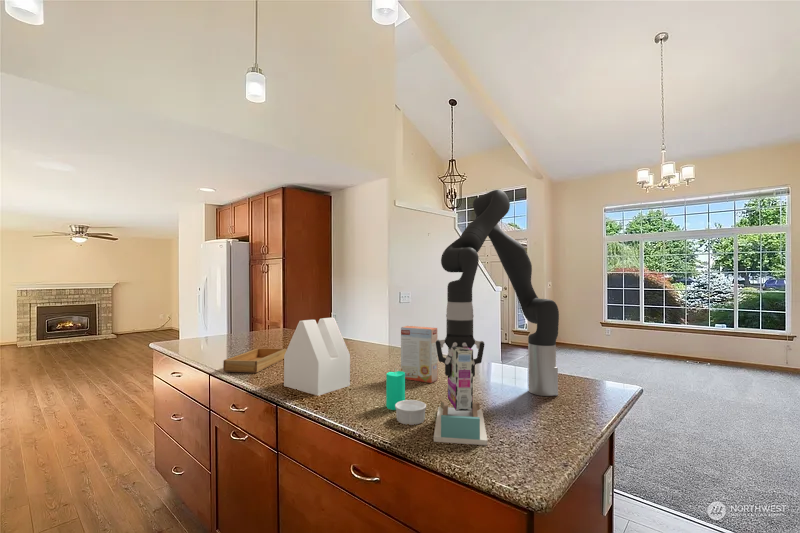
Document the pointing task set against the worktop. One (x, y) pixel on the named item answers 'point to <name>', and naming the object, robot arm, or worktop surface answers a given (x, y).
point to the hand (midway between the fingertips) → (459, 377)
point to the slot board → (460, 425)
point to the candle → (395, 388)
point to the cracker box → (419, 353)
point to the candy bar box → (461, 379)
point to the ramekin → (410, 412)
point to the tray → (254, 360)
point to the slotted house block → (317, 358)
